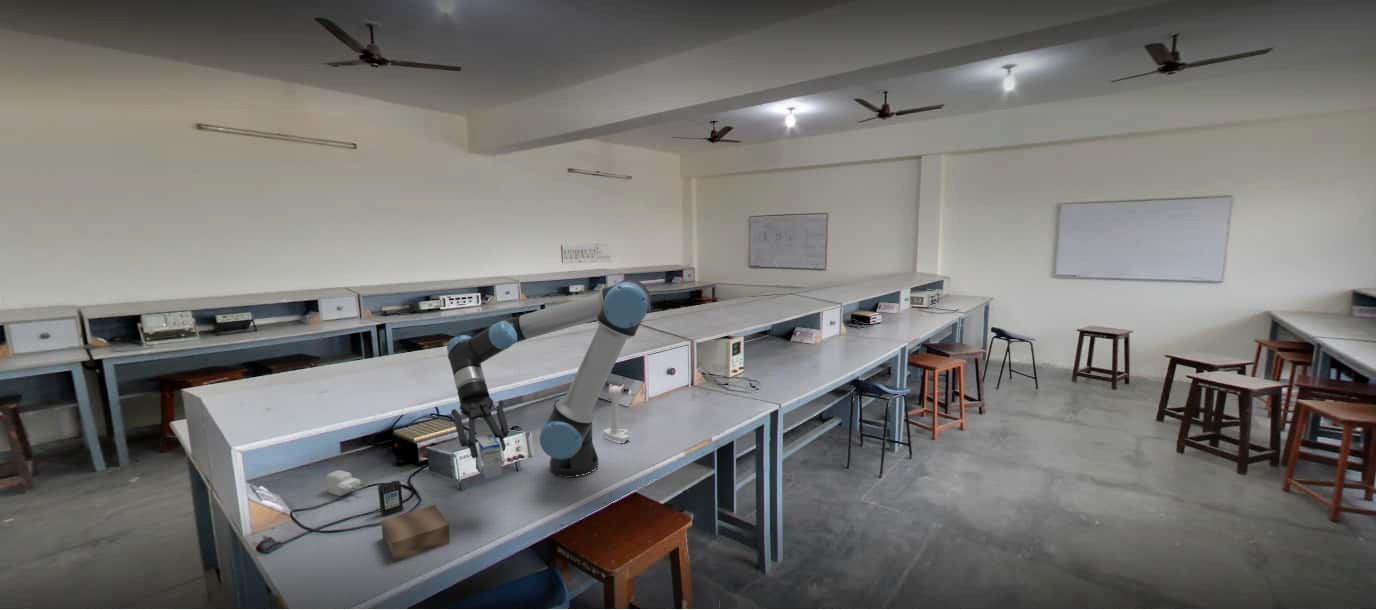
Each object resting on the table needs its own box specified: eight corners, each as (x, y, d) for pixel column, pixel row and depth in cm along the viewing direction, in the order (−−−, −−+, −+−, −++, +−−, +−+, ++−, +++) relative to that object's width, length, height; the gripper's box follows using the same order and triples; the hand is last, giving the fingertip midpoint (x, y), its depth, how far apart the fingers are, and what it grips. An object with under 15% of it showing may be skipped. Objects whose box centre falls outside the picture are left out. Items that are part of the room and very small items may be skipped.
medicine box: (475, 469, 140) (473, 437, 138) (493, 464, 142) (491, 433, 141) (484, 480, 133) (482, 447, 132) (502, 475, 136) (500, 443, 135)
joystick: (600, 436, 194) (600, 383, 191) (616, 431, 199) (616, 379, 196) (620, 445, 186) (620, 390, 183) (636, 439, 192) (636, 385, 189)
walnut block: (435, 522, 137) (434, 504, 136) (449, 544, 127) (448, 524, 127) (382, 539, 129) (381, 520, 128) (393, 563, 120) (392, 543, 119)
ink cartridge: (382, 517, 138) (379, 488, 137) (380, 513, 140) (377, 485, 139) (403, 510, 142) (400, 482, 140) (401, 507, 143) (398, 479, 142)
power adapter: (369, 494, 150) (367, 474, 149) (352, 502, 146) (351, 482, 145) (341, 486, 154) (339, 467, 153) (324, 494, 150) (323, 475, 149)
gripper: (501, 388, 153) (523, 462, 142) (435, 400, 143) (454, 481, 132) (506, 374, 148) (529, 450, 137) (438, 385, 138) (457, 468, 127)
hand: (492, 465), depth 134 cm, fingers closed on medicine box, 4 cm apart
